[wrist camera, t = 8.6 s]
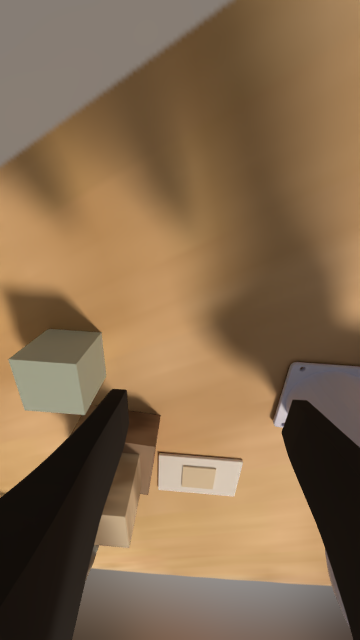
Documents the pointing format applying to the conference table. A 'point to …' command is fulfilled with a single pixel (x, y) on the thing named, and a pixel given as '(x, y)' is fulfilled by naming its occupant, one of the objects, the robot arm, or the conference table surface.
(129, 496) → the maple cube
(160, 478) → the card
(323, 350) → the conference table surface
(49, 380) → the sage cube
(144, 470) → the walnut block
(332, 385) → the robot arm
